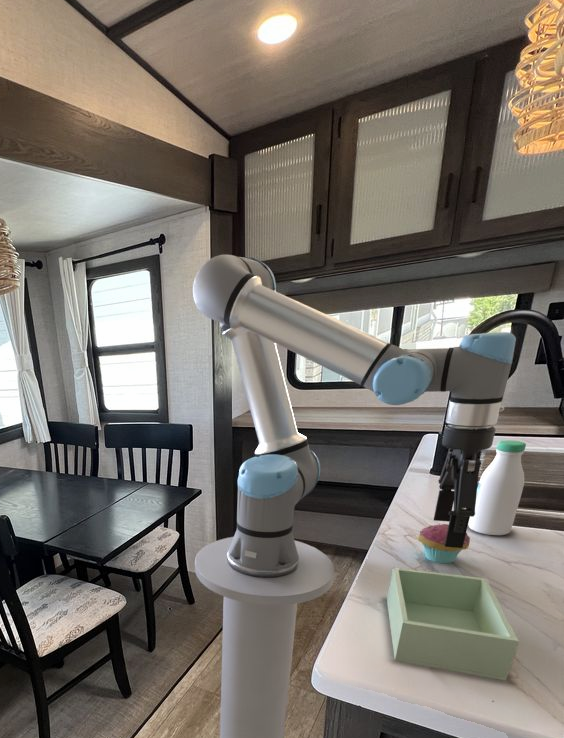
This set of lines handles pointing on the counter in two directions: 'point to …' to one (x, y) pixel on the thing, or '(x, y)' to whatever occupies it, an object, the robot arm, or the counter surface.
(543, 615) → the counter surface
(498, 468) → the milk bottle
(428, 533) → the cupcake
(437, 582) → the tub
